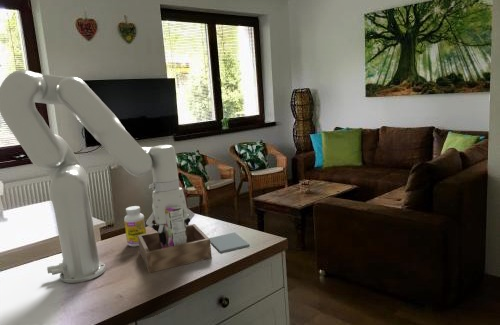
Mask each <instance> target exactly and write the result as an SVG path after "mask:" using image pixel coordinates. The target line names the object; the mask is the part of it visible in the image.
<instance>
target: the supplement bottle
mask: <svg viewBox="0 0 500 325" xmlns="http://www.w3.org/2000/svg"><path fill="white" fill-rule="evenodd" d="M125 213H126V215H125V216H124V229H125V236H126V244H127V245H128V246H130V247H139V240H138V235H143V234H147V230H146V222H145V215H144V214H143V213H141V207H140V206H139V205H134V206H133V205H132V206H128V207H126V208H125Z"/></svg>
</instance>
